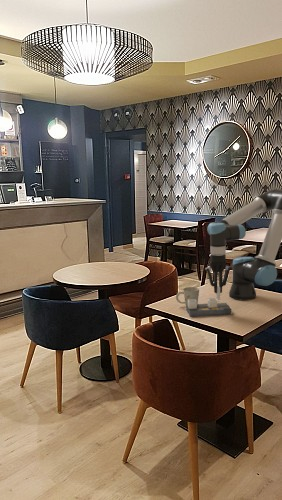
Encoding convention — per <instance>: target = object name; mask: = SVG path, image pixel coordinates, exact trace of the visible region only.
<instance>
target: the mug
mask: <svg viewBox="0 0 282 500" xmlns="http://www.w3.org/2000/svg"><path fill="white" fill-rule="evenodd" d="M199 294H200V288H198V287H195V286H187V287H184V288H183V291H179V292H177V293H176V295H175V299H176V301H177V302H178V303H180V304H184V305H185V308H186V309H187V305H188V299H195V300H196V301H197V304H199V303H198V302H199ZM180 295H184V301H181V300H180V299H179V296H180Z"/></svg>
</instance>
